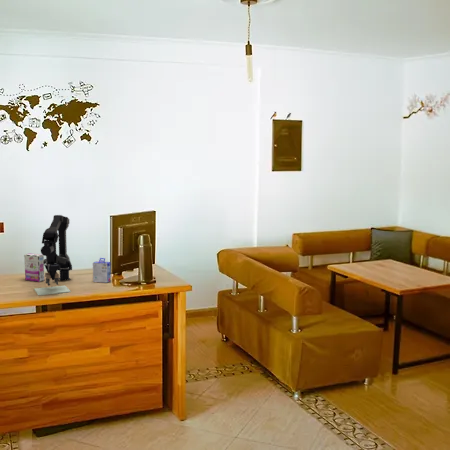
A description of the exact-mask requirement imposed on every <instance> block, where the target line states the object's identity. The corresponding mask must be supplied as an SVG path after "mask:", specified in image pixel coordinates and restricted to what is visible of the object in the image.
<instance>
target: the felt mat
mask: <svg viewBox="0 0 450 450" xmlns="http://www.w3.org/2000/svg"><path fill="white" fill-rule="evenodd" d="M33 290H34V292H35V293H36V295H37V296H39V295H40V296H47V295H58V294H67V293H71V292H72V291H71V290H70V289H69V287H67V285H56V286H49V287H48V286H46V287H36V288H34V289H33ZM40 296H39V297H40Z"/></svg>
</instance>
